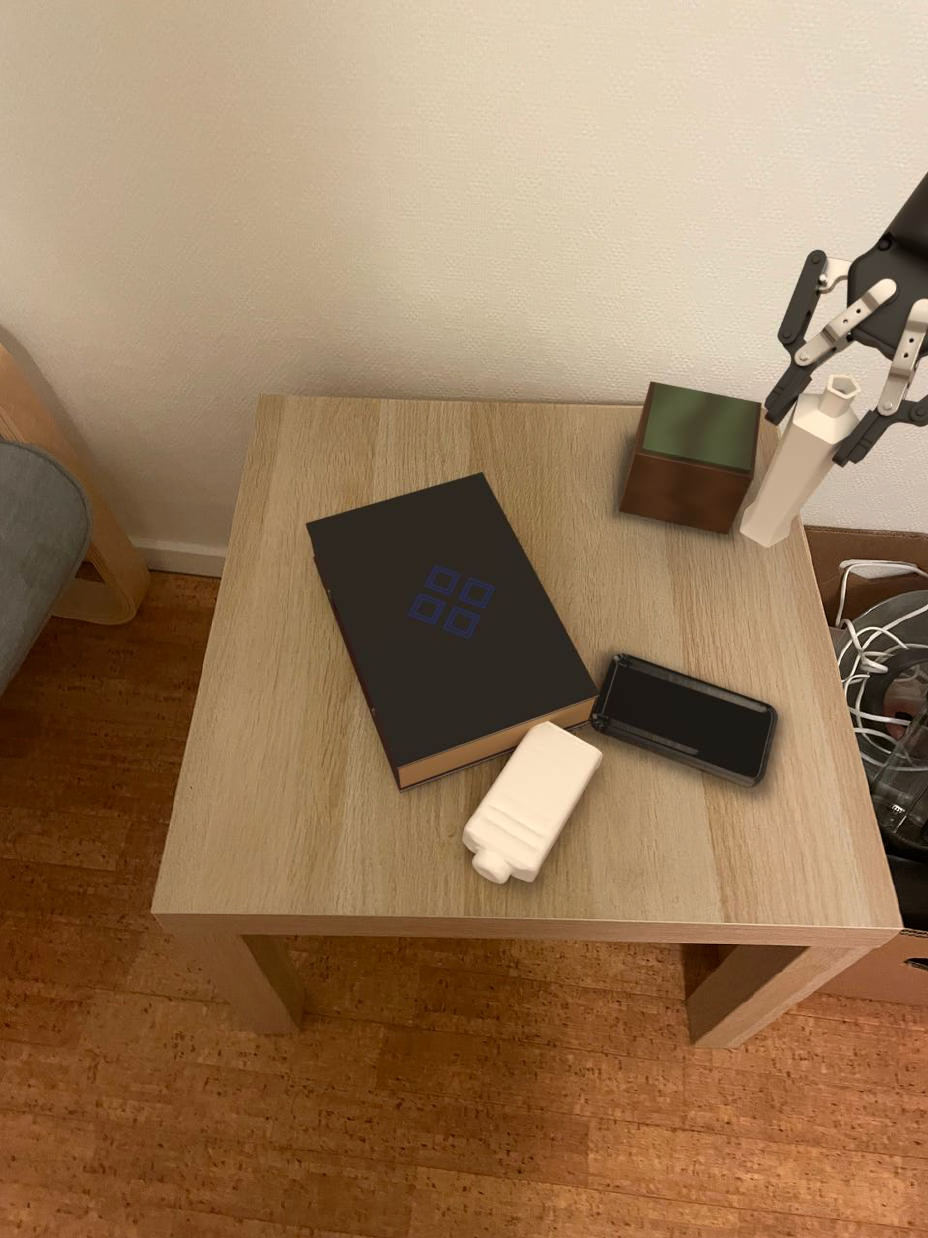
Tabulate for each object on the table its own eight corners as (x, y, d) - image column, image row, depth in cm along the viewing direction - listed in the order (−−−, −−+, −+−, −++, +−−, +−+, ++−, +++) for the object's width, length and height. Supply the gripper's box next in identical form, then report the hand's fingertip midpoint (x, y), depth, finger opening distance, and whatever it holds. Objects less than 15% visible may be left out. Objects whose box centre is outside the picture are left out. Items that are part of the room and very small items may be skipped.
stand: (736, 462, 90) (763, 399, 82) (727, 534, 85) (755, 474, 77) (633, 441, 91) (651, 377, 83) (619, 511, 86) (636, 450, 78)
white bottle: (450, 859, 67) (450, 844, 63) (530, 732, 73) (535, 712, 69) (520, 904, 65) (525, 891, 62) (597, 771, 71) (605, 752, 67)
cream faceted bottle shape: (788, 558, 65) (877, 421, 52) (732, 540, 65) (806, 401, 52) (798, 513, 67) (886, 371, 54) (744, 497, 68) (817, 352, 55)
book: (400, 796, 70) (396, 767, 64) (314, 565, 82) (304, 522, 76) (588, 727, 73) (600, 693, 68) (479, 515, 85) (482, 471, 80)
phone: (615, 649, 76) (780, 708, 73) (613, 655, 77) (776, 713, 74) (588, 723, 72) (761, 788, 70) (586, 729, 73) (757, 792, 70)
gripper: (1094, 270, 51) (900, 506, 57) (885, 169, 56) (726, 396, 62) (1118, 228, 44) (896, 499, 50) (879, 118, 49) (702, 377, 55)
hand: (803, 441), depth 56 cm, fingers closed on cream faceted bottle shape, 4 cm apart
